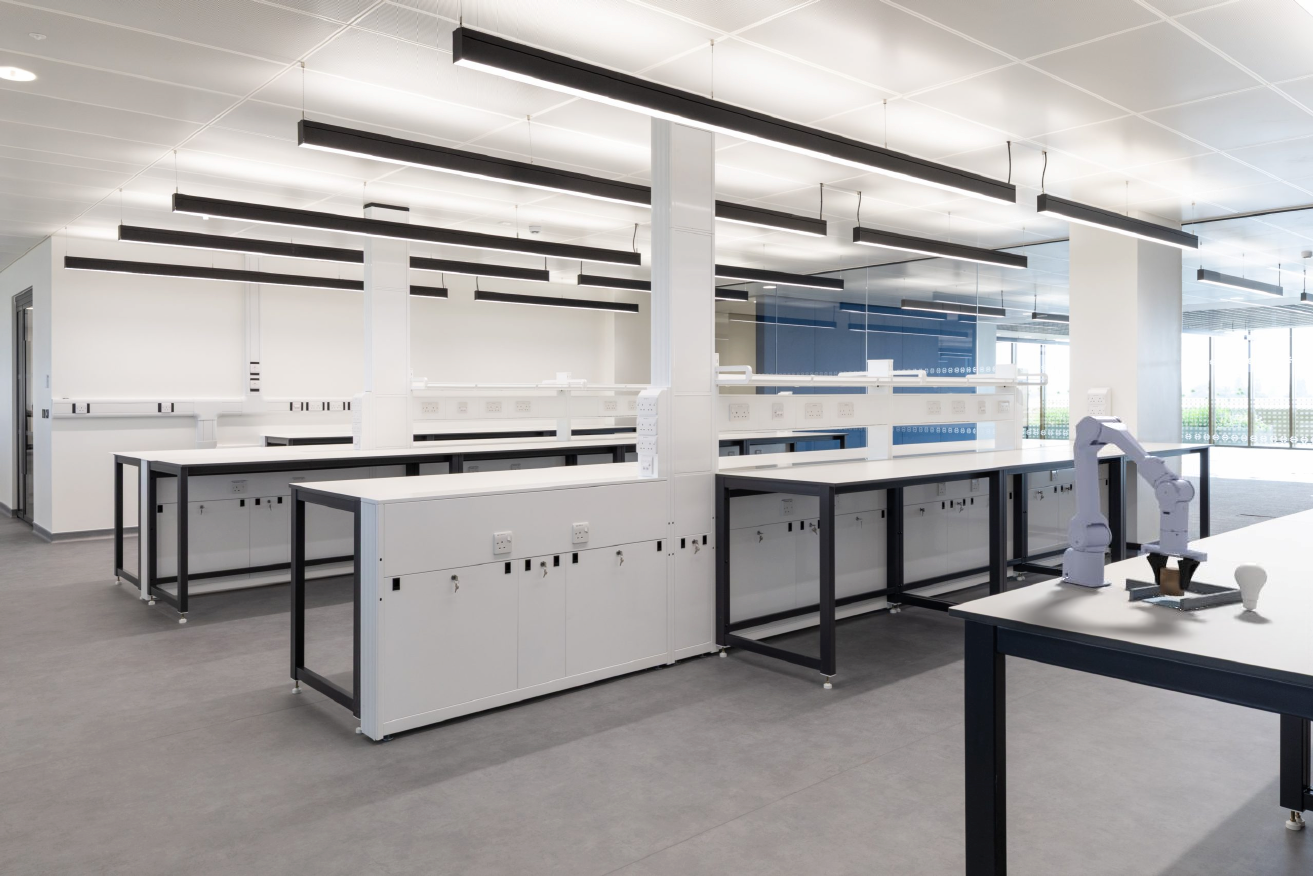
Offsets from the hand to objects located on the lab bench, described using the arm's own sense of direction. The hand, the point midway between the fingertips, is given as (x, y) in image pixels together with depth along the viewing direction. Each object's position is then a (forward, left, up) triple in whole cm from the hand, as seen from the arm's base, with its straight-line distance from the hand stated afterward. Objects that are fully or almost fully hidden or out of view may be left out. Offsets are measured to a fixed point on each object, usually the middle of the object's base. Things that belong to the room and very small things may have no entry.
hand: (1172, 587), depth 201 cm
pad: (0, -1, -4) cm, 4 cm away
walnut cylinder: (0, 0, -2) cm, 2 cm away
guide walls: (-4, +6, -4) cm, 8 cm away
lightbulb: (+13, +8, -4) cm, 16 cm away
